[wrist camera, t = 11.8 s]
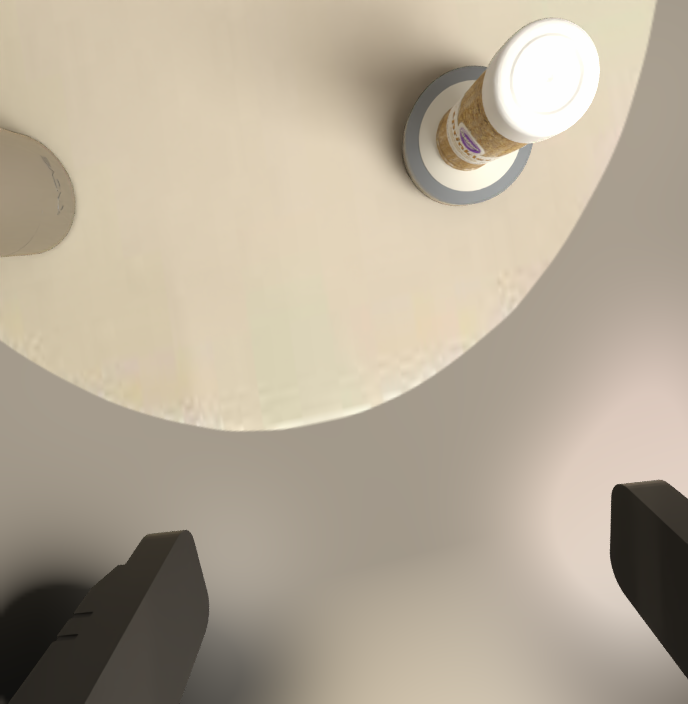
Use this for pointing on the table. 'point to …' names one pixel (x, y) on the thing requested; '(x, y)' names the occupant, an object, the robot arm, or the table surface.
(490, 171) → the stand
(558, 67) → the sprinkles bottle
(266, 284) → the table surface
